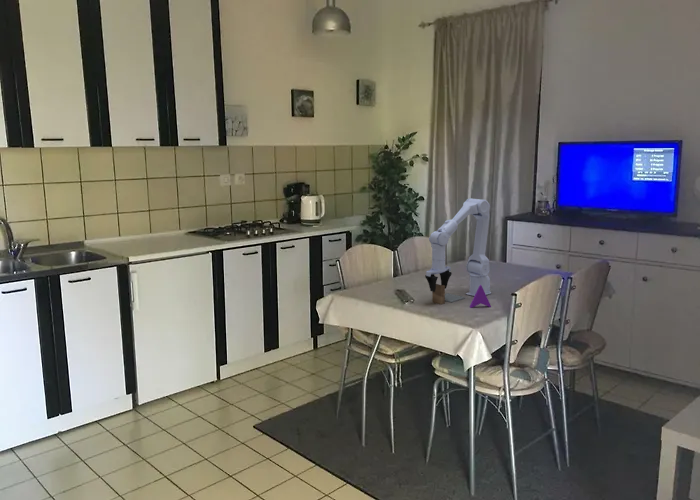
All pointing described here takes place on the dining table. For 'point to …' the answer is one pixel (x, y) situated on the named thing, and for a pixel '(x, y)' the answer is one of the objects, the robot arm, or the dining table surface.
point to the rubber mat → (453, 298)
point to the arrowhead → (480, 298)
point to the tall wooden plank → (439, 294)
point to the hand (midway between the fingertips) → (438, 289)
